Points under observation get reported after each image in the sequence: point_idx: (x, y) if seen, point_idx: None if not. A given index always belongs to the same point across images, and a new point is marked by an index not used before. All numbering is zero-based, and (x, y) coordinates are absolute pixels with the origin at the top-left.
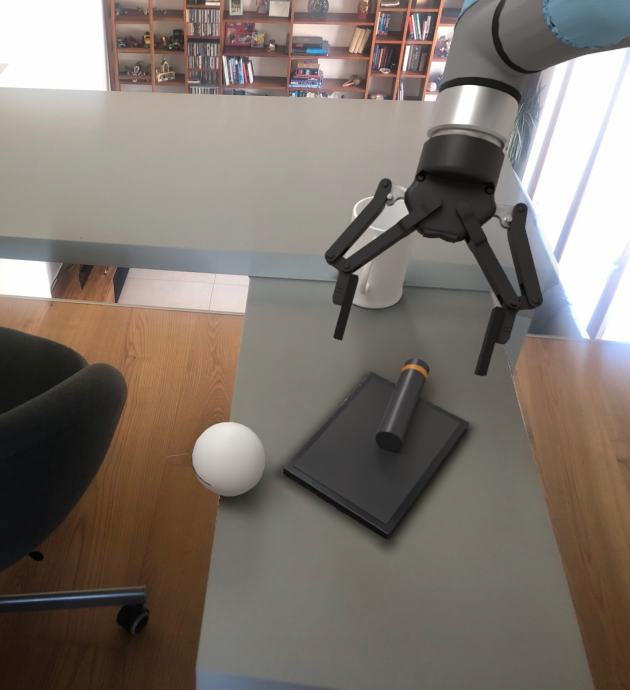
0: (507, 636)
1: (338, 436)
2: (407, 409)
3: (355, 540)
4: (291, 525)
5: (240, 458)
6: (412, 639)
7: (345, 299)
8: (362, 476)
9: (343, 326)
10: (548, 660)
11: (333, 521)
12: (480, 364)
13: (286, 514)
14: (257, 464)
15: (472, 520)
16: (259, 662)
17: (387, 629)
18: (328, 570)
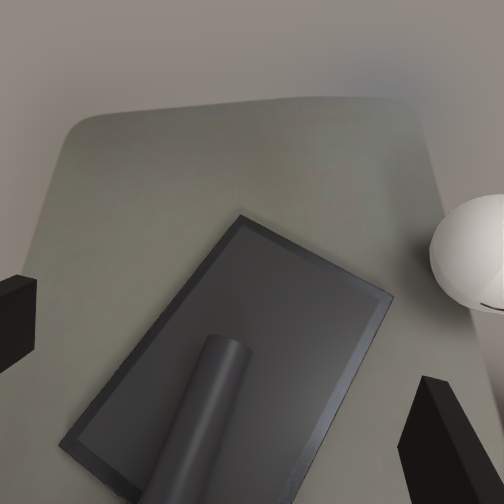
0: (128, 142)
1: (313, 370)
2: (188, 408)
3: (279, 217)
4: (361, 226)
5: (489, 200)
6: (224, 131)
7: (493, 483)
8: (272, 293)
9: (435, 401)
10: (96, 128)
11: (307, 238)
12: (17, 288)
13: (370, 240)
14: (453, 219)
15: (120, 261)
16: (366, 102)
17: (247, 136)
18: (310, 181)
